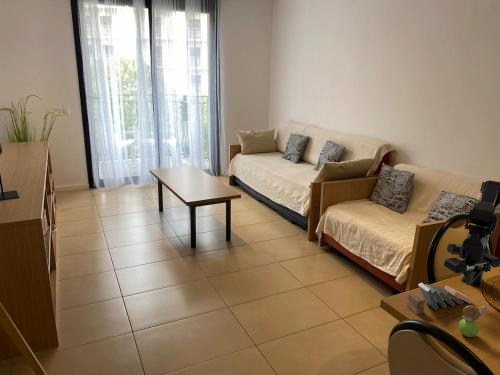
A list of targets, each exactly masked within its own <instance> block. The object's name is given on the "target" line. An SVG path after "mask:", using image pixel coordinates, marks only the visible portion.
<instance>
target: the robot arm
mask: <svg viewBox="0 0 500 375" xmlns="http://www.w3.org/2000/svg"><path fill="white" fill-rule="evenodd" d="M479 192H480V193H481V195H480V196H481V198H480V201H479V202H476V203H474V205H473V206H472V209H469V211H468V214H467V219H466V222H465V225H464V230H468V233H467V234H466V236H465V238H464V240H463V241H462V244H461V243H460V244H457V243H448V245H447V248H446V250H447V253H449V254H450V255H456V256H458V258H460V259H458V258H457V257H451V258H446V259H444V264H443V266H444V267H446V268H447V269H448V270H449V271H452V272H454V273H455V274H462V273H463V277H462V278H461V282H463V283H464V284H466V285H467V286H470V285H473V286H475V287H479V288H481V286H482V285H483V283H484V282H485V279H484V278H483V277H484V273H488V272H491V270H492V268H493V269H494V268H500V258H499V257H497V256H495V255H494V254H491V252H490V250H489V247H488V243H489V239H490V235H492V234H493V232H495V231H496V228H497V224H498V220H499V218H498V215H497V214H496V211H497V208H498V207H499V206H500V181H496V180H491V179H490V180H489V179H488V180H486V181H482V182H481V185H480V189H479ZM461 259H462V260H461Z"/></svg>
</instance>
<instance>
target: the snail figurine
mask: <svg viewBox="0 0 500 375" xmlns="http://www.w3.org/2000/svg"><path fill="white" fill-rule="evenodd" d="M488 306H489V303H488V302H487V301H486V302H485V305H482V306H481V310H480V309H479V308H478V307H477V306H475V305H471V304H470V305H466V306H465V307H463V309H462V314H463V315H461V318H462V319H461V320H460V321H459V322H458V325H457V326H458V331H459V332H460V333H461V334H462V335H463V336H465V337H467V338H474V337H476V336H477V335H478V334H479V331H480V327H479V324H478V323H477V321H479V320H481V319H482V318H483V316H484V315H485V313H486V311H487V309H488Z"/></svg>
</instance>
